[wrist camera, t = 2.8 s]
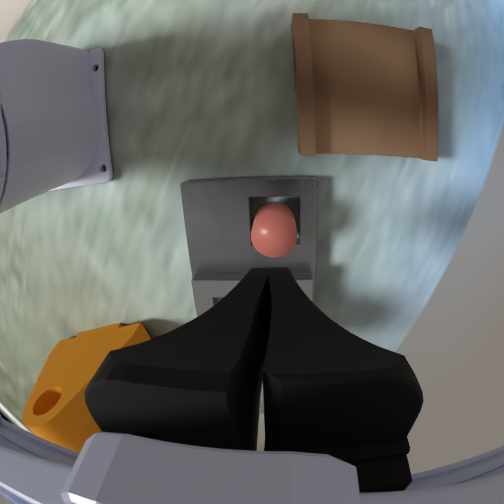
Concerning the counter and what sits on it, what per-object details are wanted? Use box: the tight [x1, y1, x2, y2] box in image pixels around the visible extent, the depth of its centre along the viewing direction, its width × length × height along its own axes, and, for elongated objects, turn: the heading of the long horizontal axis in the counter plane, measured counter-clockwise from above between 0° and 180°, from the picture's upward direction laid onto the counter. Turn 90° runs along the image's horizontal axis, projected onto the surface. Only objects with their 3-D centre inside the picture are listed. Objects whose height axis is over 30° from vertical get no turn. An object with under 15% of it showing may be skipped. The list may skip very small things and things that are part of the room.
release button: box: [251, 202, 297, 257], centre depth 17 cm, size 2×2×2 cm
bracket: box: [23, 322, 151, 453], centre depth 21 cm, size 11×7×12 cm, turn 111°
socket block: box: [180, 176, 317, 317], centre depth 20 cm, size 14×8×2 cm, turn 3°
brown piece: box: [291, 13, 438, 161], centre depth 15 cm, size 8×8×2 cm
